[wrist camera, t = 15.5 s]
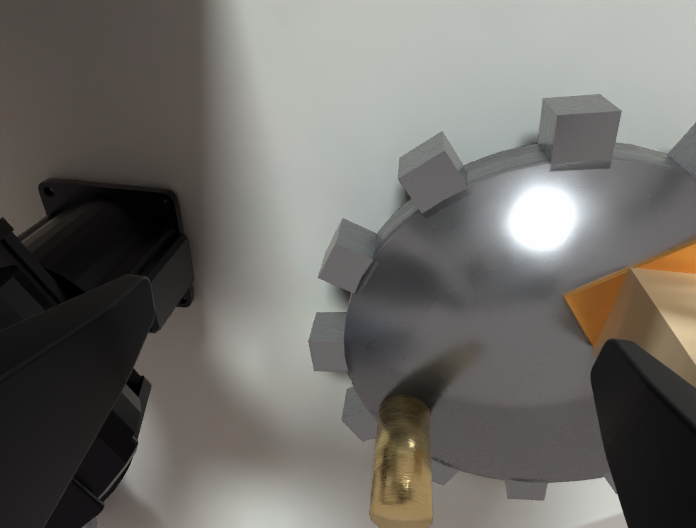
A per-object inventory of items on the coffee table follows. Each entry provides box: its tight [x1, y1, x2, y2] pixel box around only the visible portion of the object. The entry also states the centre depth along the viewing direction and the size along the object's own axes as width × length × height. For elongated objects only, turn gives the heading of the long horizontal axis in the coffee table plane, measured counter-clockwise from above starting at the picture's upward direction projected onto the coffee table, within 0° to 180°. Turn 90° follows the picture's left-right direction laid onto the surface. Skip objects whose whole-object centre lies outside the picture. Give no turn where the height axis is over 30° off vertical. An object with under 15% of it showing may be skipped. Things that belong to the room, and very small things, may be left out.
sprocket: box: [308, 94, 696, 528], centre depth 18 cm, size 20×20×7 cm
